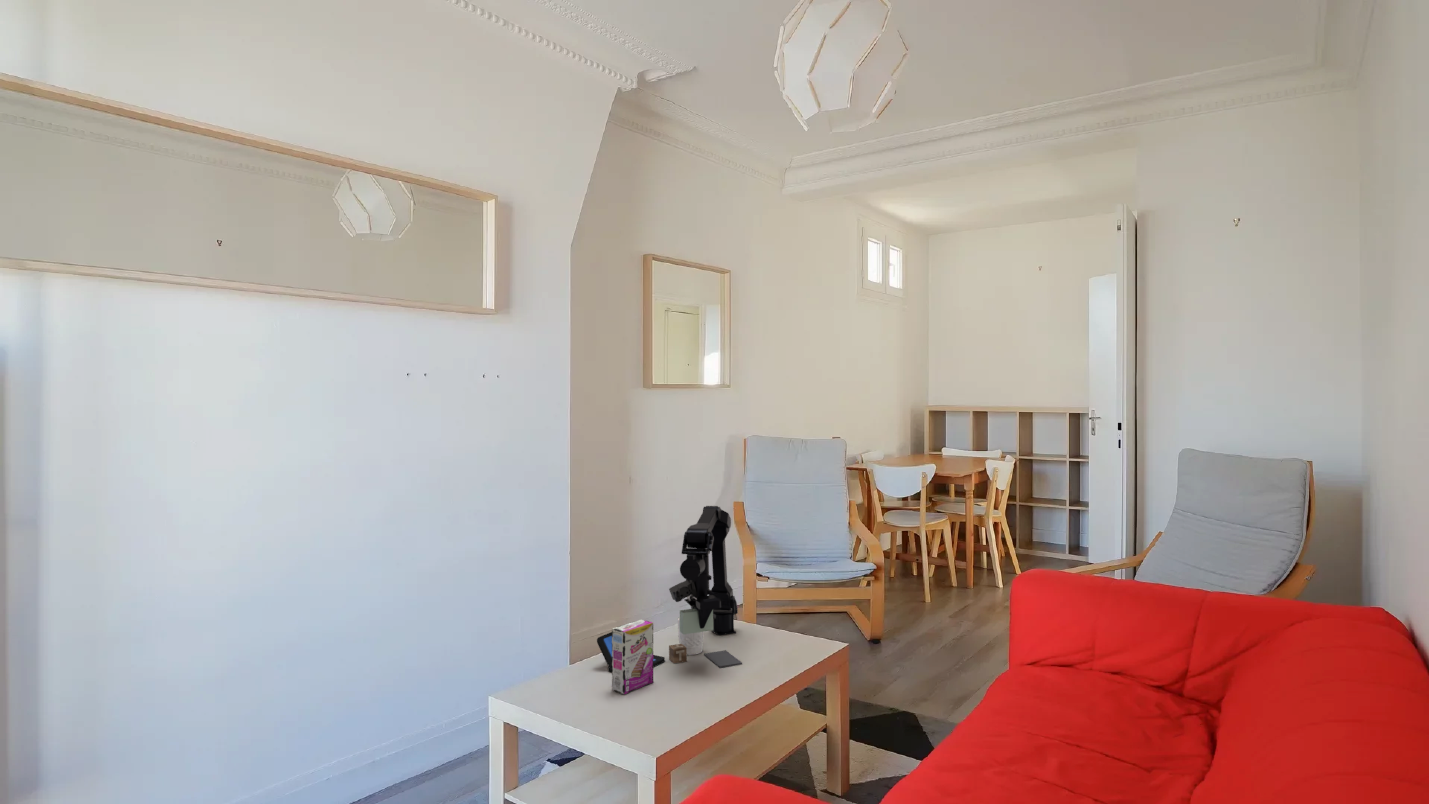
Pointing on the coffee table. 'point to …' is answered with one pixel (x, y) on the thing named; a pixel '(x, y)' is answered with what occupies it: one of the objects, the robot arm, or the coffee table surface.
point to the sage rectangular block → (693, 622)
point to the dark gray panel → (722, 659)
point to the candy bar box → (632, 656)
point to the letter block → (677, 653)
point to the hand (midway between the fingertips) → (699, 626)
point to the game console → (606, 650)
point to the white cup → (691, 641)
